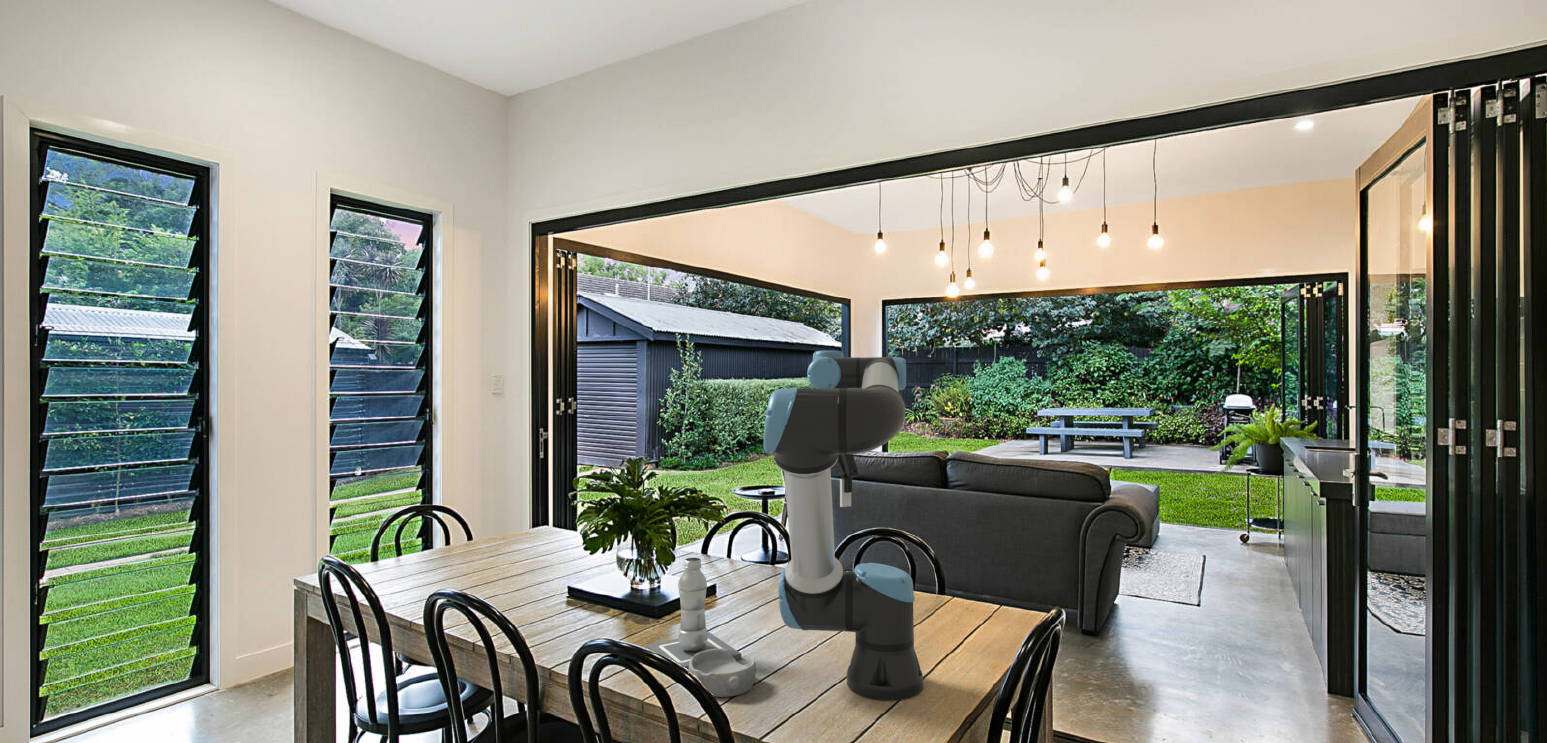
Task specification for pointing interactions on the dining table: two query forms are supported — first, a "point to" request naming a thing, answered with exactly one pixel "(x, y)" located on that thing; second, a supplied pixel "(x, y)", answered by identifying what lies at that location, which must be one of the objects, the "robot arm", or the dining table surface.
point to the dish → (722, 672)
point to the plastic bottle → (692, 606)
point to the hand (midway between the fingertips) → (828, 502)
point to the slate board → (683, 657)
